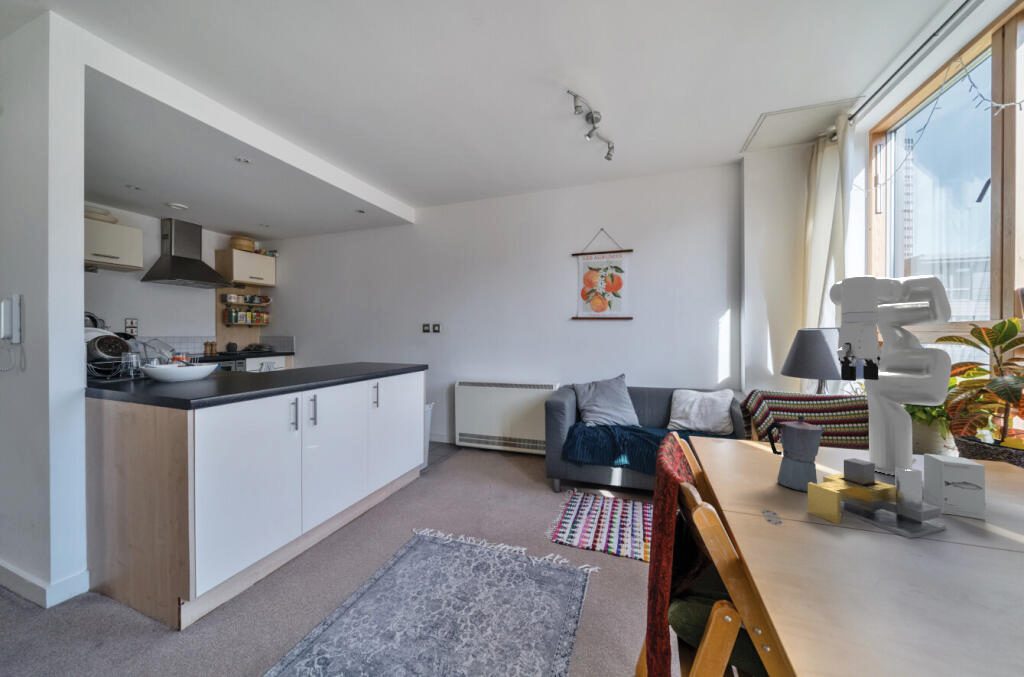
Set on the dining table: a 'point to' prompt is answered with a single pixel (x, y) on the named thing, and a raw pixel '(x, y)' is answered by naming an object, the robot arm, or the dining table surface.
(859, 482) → the wedge pin
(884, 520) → the stepped holder fixture
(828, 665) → the dining table surface
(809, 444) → the moka pot
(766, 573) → the dining table surface
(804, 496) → the dining table surface
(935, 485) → the supplement box
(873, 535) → the dining table surface
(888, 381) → the robot arm
